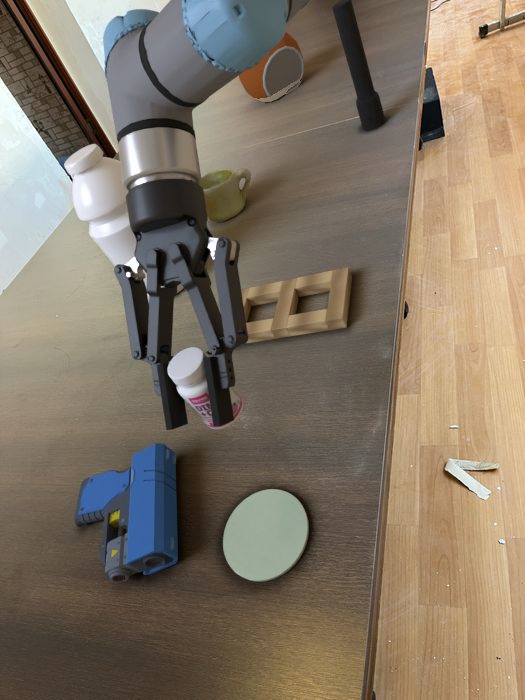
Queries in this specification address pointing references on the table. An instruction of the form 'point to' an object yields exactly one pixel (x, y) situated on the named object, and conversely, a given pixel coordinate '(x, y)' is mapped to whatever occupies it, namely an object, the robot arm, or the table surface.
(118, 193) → the bottle
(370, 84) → the flashlight
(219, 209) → the mug
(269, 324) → the frame
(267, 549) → the coaster
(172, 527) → the stun gun
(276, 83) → the alarm clock
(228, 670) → the table surface
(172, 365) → the pill bottle
